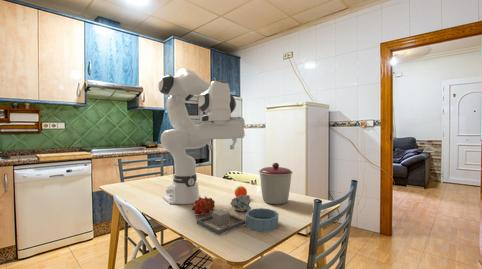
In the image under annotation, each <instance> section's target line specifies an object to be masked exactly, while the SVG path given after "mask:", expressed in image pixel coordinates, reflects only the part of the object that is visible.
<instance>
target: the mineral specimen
mask: <svg viewBox="0 0 482 269" xmlns="http://www.w3.org/2000/svg"><path fill="white" fill-rule="evenodd" d="M250 198H251V196H250V195H249V194H247V195H245V196H238V197H236V196H235V197H234V198H232V199H231V202H230V205H231V208H233V210H235V211H236V212H244V211H245V212H247V211H249V210H252V208H251V206H250V204H251V201H250Z"/></svg>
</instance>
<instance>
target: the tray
mask: <svg viewBox="0 0 482 269" xmlns="http://www.w3.org/2000/svg"><path fill="white" fill-rule="evenodd" d="M230 220H232V221H234V222H235V223H232V224H229V225H226V226H223V227H221V228H219V229H218V228H216V227H214V226H212V225H210V224H208V223H206V222H209V221H213V214H211V215H208V216H207V215H206V216H204V217H201V218H198V219H196V224H197V225H198V226H199V227H202V228H204V229H206V230H208V231H210V232H211V233H213V234H215V235H217V236H219V235H222V234H225V233H226V232H229V231H231V230H235V229H237V228H239V227H243V226H245V225H246V219H243V218H240V217H239V216H235V215H233V214H231V213H230Z"/></svg>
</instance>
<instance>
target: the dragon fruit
mask: <svg viewBox="0 0 482 269" xmlns="http://www.w3.org/2000/svg"><path fill="white" fill-rule="evenodd" d="M215 204H216V202H215V200H214V199H213V198H211V197H207V196H204V198H203V197H200V198H199V200H197V201H195V202H194V204H193V205H192V207H191V211H194V212H193V213H194V215H196V216H197V215H198V216H201V215H204V217H207V215H210V213H211V212H213V211H215V207H216V205H215Z"/></svg>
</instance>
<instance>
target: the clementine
mask: <svg viewBox="0 0 482 269" xmlns="http://www.w3.org/2000/svg"><path fill="white" fill-rule="evenodd" d="M234 189H235V190H234V195H235V198H236V197H238V196H245V195H248V194H247V193H248V191H247V188H246V187H245V186H243V185H238V186H237V187H236V188H234Z"/></svg>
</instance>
